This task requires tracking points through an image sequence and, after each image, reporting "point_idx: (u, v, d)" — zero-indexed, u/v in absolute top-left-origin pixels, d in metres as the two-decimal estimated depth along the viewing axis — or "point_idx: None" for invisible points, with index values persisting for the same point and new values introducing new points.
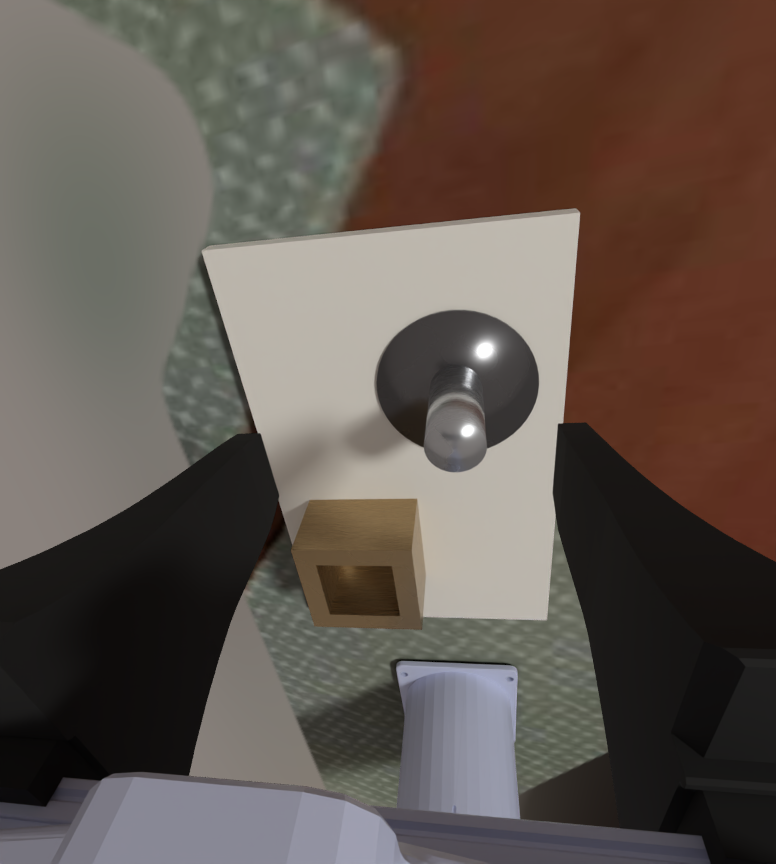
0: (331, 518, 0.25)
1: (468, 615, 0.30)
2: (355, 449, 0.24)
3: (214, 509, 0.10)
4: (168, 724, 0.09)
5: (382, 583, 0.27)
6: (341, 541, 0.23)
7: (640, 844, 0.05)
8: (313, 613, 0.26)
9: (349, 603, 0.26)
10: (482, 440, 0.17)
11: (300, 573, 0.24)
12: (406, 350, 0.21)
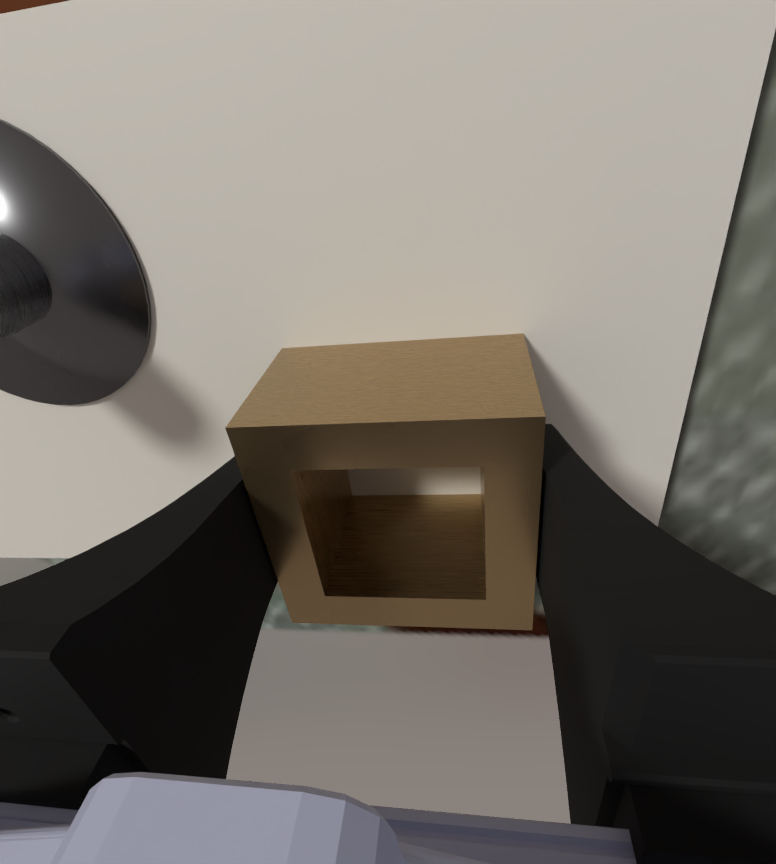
0: None
1: (717, 207, 0.09)
2: (197, 443, 0.14)
3: (247, 509, 0.10)
4: (207, 727, 0.09)
5: None
6: None
7: None
8: (484, 624, 0.11)
9: (484, 546, 0.11)
10: None
11: (354, 621, 0.12)
12: None
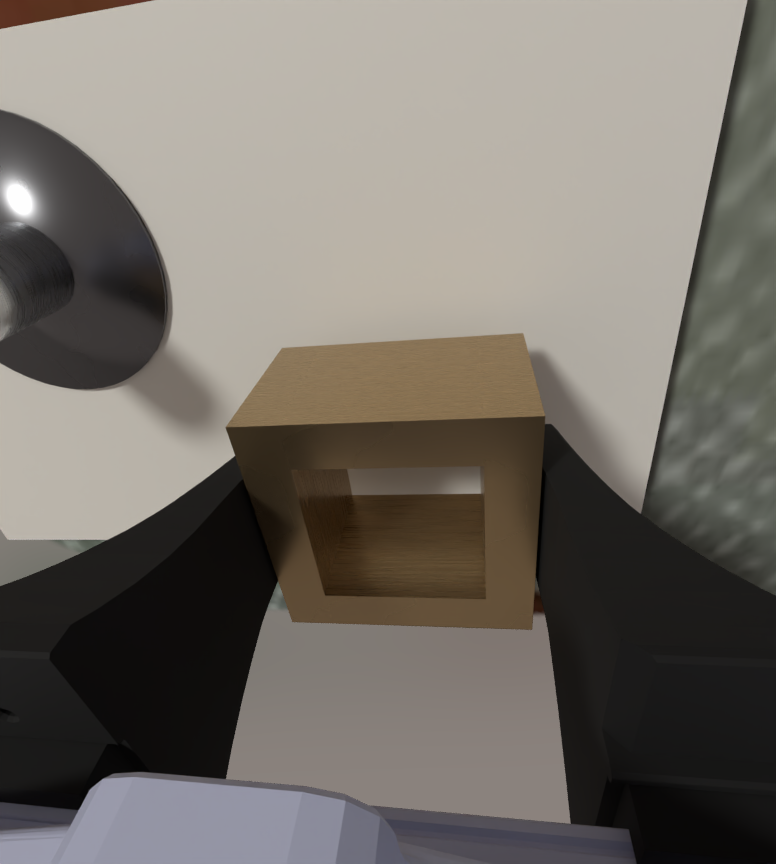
0: None
1: (691, 199, 0.10)
2: (209, 425, 0.15)
3: (247, 509, 0.10)
4: (207, 727, 0.09)
5: None
6: None
7: None
8: (484, 624, 0.11)
9: (484, 546, 0.11)
10: None
11: (355, 621, 0.12)
12: (6, 345, 0.14)
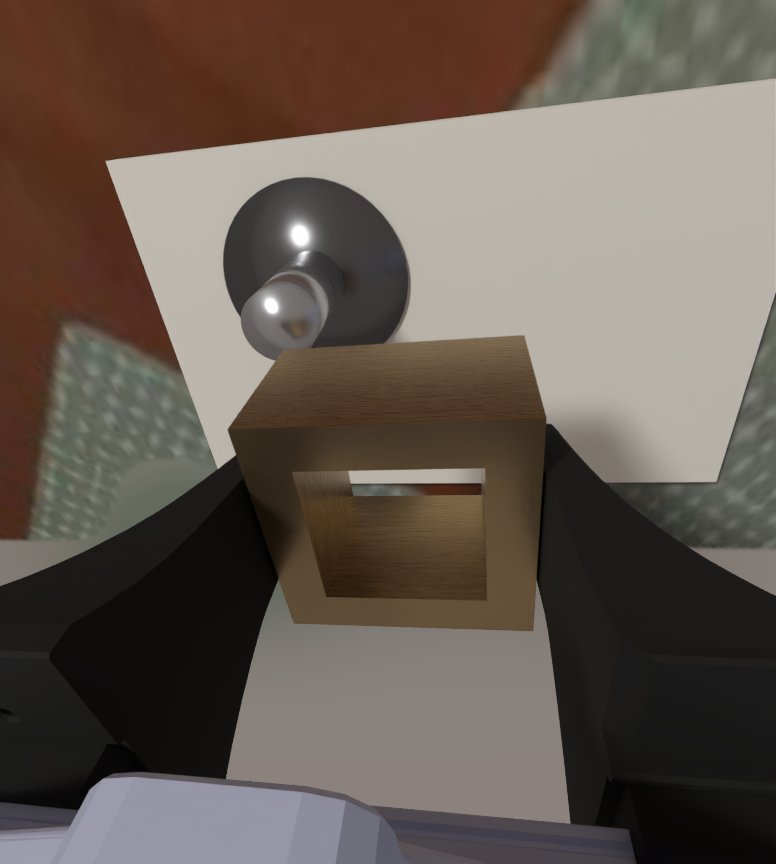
0: None
1: None
2: None
3: (247, 509, 0.10)
4: (207, 727, 0.09)
5: None
6: None
7: None
8: (485, 625, 0.11)
9: (485, 547, 0.11)
10: (260, 295, 0.14)
11: (356, 622, 0.12)
12: None
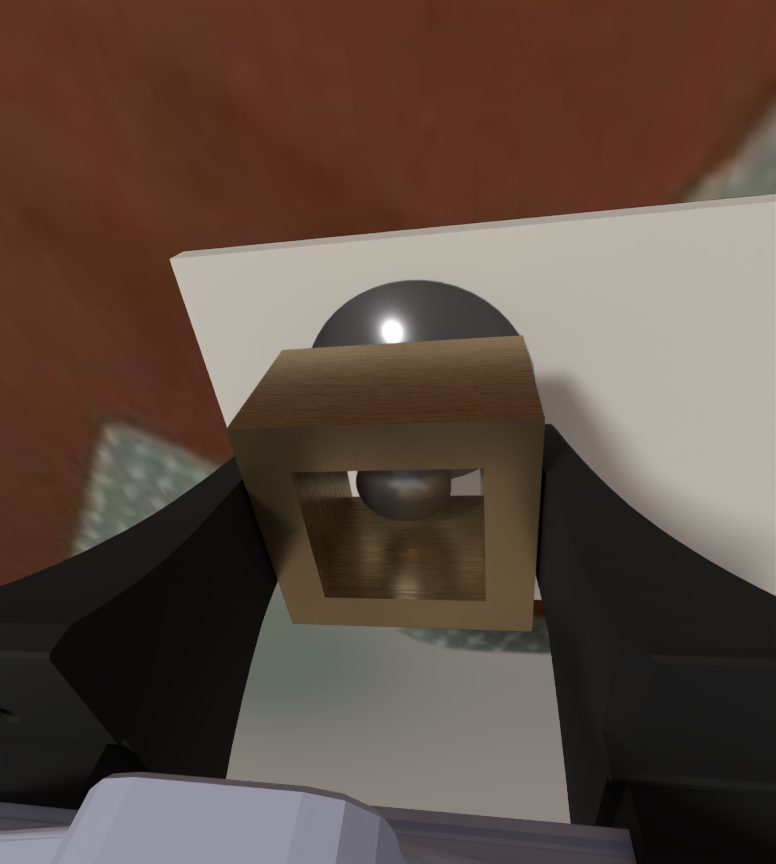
0: None
1: None
2: None
3: (247, 509, 0.10)
4: (207, 727, 0.09)
5: None
6: None
7: None
8: (484, 625, 0.11)
9: None
10: None
11: (355, 622, 0.12)
12: None
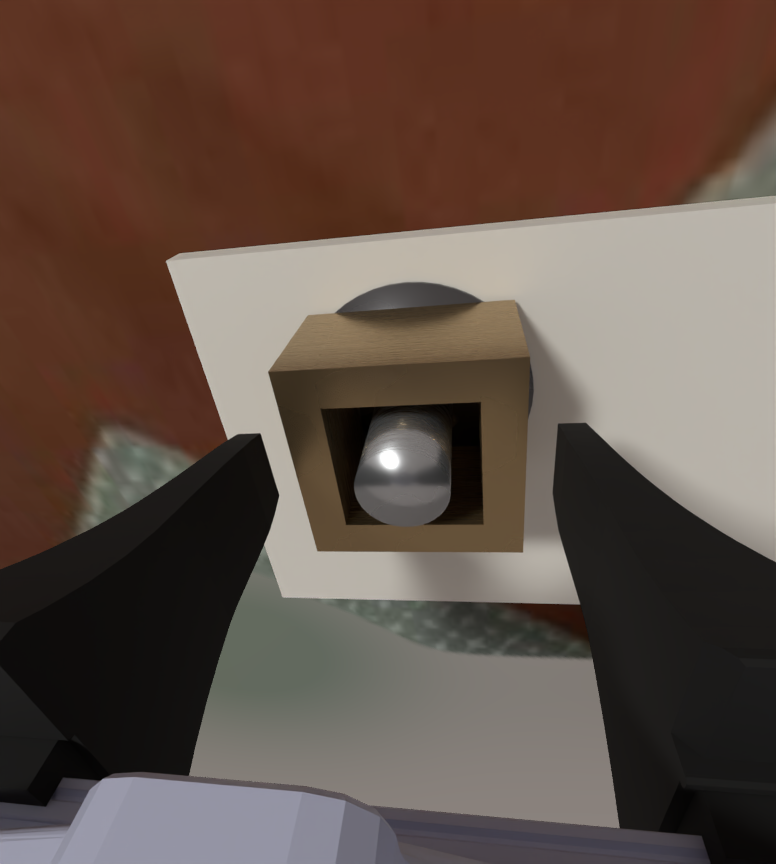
0: None
1: None
2: None
3: (214, 509, 0.10)
4: (168, 724, 0.09)
5: None
6: None
7: (640, 844, 0.05)
8: (482, 548, 0.13)
9: None
10: (385, 457, 0.11)
11: (371, 548, 0.14)
12: None
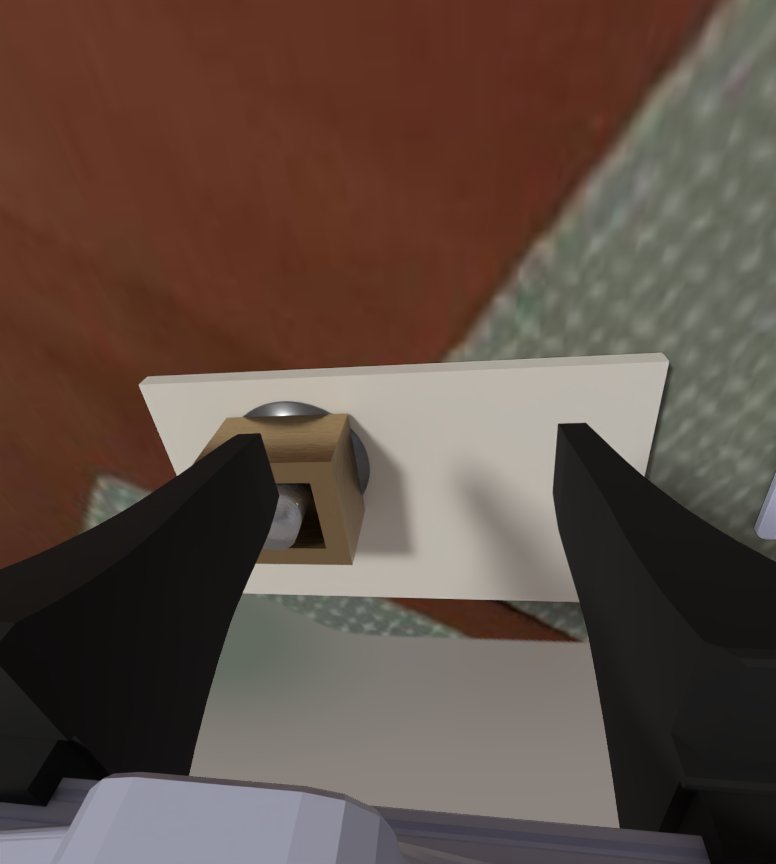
0: None
1: (641, 456, 0.21)
2: (375, 537, 0.26)
3: (214, 509, 0.10)
4: (168, 724, 0.09)
5: None
6: None
7: (640, 844, 0.05)
8: (328, 562, 0.22)
9: None
10: None
11: (264, 562, 0.22)
12: None
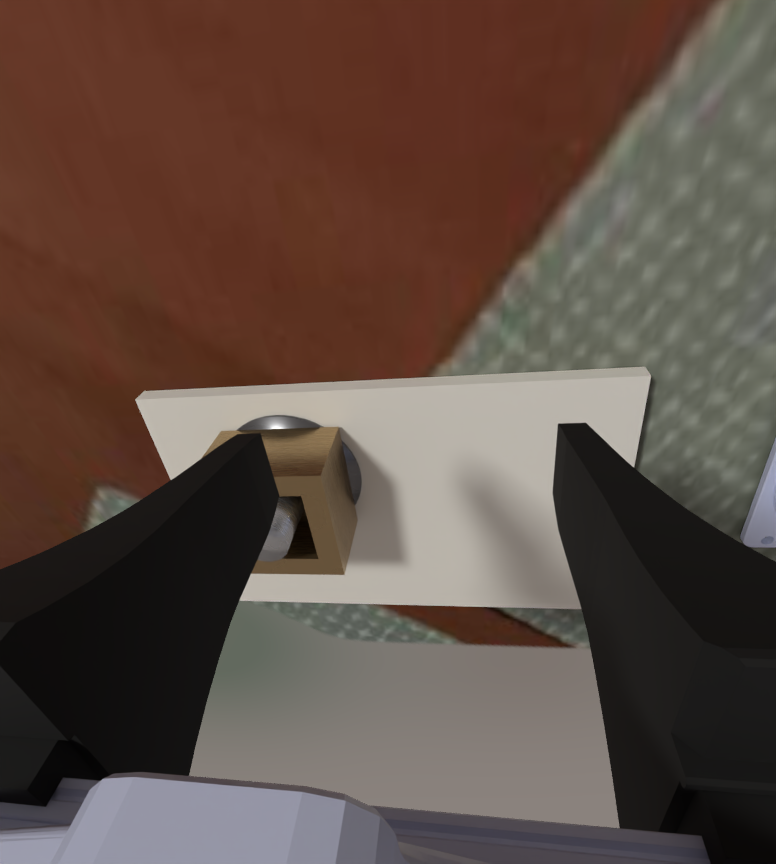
0: None
1: None
2: (369, 546, 0.26)
3: (214, 509, 0.10)
4: (168, 724, 0.09)
5: None
6: None
7: (640, 844, 0.05)
8: (321, 572, 0.22)
9: None
10: None
11: (258, 572, 0.23)
12: None
